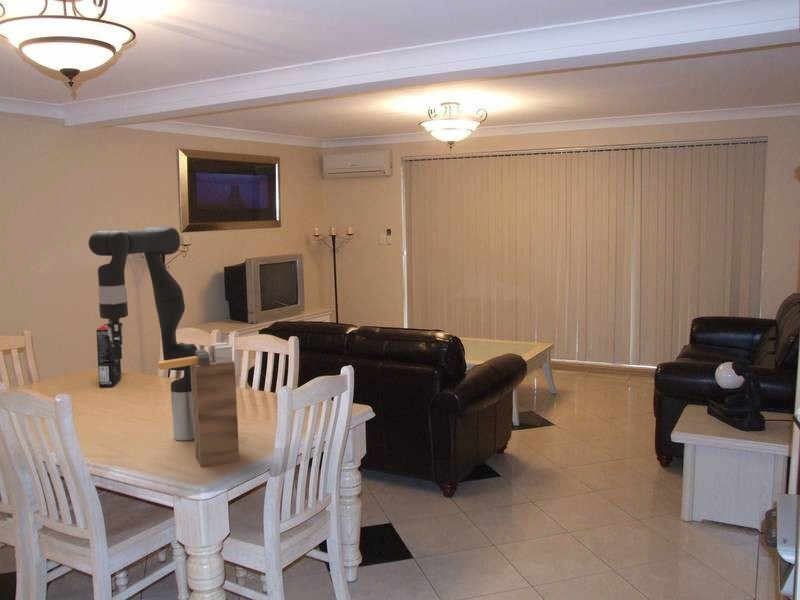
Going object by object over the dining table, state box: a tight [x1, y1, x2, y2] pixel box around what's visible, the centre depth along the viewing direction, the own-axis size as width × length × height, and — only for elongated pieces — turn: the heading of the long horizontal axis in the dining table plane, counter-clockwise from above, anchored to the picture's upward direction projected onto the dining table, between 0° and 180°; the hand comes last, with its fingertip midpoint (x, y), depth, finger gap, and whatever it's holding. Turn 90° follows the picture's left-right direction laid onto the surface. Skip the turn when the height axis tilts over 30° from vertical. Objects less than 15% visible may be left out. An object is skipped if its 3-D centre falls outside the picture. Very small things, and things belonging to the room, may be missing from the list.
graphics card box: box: [95, 322, 122, 388], centre depth 322 cm, size 17×7×27 cm, turn 10°
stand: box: [190, 342, 240, 468], centre depth 223 cm, size 10×12×37 cm
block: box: [157, 356, 199, 371], centre depth 217 cm, size 3×14×2 cm, turn 116°
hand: (116, 356), depth 202 cm, fingers open, 8 cm apart
